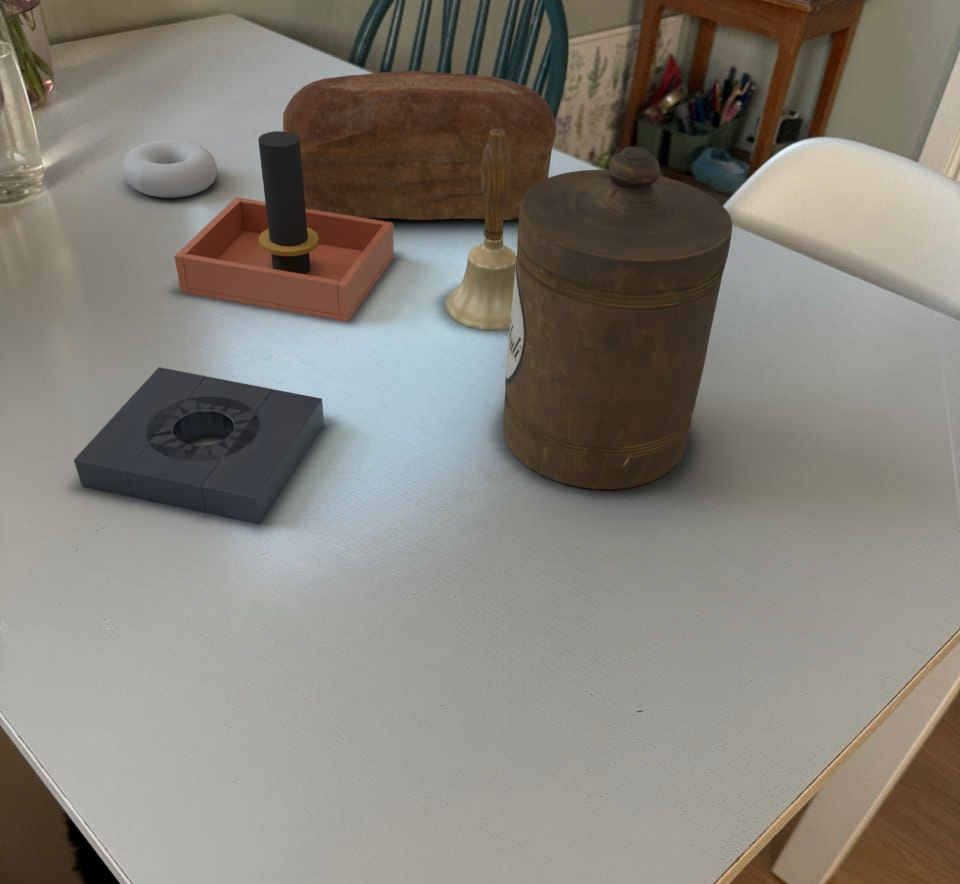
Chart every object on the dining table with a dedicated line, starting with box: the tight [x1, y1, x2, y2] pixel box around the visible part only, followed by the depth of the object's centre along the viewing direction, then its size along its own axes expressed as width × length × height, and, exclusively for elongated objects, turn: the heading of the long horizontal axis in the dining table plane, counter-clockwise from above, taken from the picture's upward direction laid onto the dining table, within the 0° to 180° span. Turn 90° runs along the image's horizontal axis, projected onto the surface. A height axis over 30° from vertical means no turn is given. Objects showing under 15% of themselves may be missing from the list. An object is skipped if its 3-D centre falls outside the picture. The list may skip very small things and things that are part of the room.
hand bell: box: [445, 129, 517, 332], centre depth 87 cm, size 8×8×16 cm
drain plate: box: [73, 366, 325, 525], centre depth 75 cm, size 14×13×2 cm
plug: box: [257, 130, 319, 274], centre depth 91 cm, size 6×6×12 cm
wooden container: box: [502, 146, 733, 490], centre depth 72 cm, size 15×15×22 cm
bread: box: [282, 70, 557, 221], centre depth 103 cm, size 14×28×12 cm, turn 96°
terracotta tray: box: [173, 196, 395, 323], centre depth 94 cm, size 17×14×4 cm
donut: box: [122, 139, 218, 199], centre depth 107 cm, size 10×4×10 cm
